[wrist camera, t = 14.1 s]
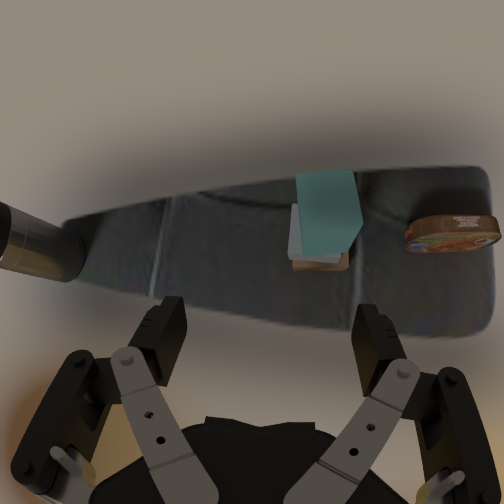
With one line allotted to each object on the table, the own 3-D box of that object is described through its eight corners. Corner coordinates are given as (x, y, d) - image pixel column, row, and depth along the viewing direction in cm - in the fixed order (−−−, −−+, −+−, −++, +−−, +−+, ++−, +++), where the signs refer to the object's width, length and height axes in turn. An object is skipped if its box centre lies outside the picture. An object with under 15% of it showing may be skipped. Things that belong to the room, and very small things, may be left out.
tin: (398, 254, 38) (418, 238, 30) (396, 232, 39) (415, 212, 31) (483, 251, 35) (512, 237, 27) (480, 231, 36) (508, 213, 28)
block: (303, 256, 33) (302, 229, 24) (298, 214, 35) (295, 174, 25) (347, 252, 33) (363, 223, 23) (340, 210, 34) (352, 169, 24)
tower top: (289, 259, 37) (287, 253, 34) (293, 213, 38) (292, 203, 35) (337, 263, 36) (340, 258, 33) (340, 217, 37) (343, 207, 34)
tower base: (293, 271, 40) (292, 266, 37) (293, 221, 42) (292, 212, 39) (345, 270, 39) (348, 266, 36) (343, 220, 41) (346, 212, 37)
